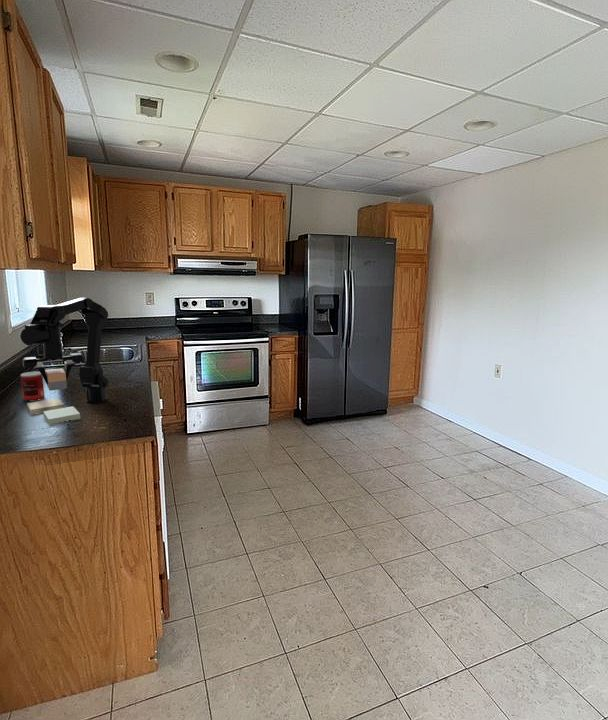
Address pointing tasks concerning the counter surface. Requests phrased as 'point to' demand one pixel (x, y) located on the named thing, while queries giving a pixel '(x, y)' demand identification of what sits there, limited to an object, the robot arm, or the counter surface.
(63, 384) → the housing base
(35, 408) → the stand
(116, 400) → the counter surface
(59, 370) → the housing cover
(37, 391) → the canned food
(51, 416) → the stand
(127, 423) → the counter surface
